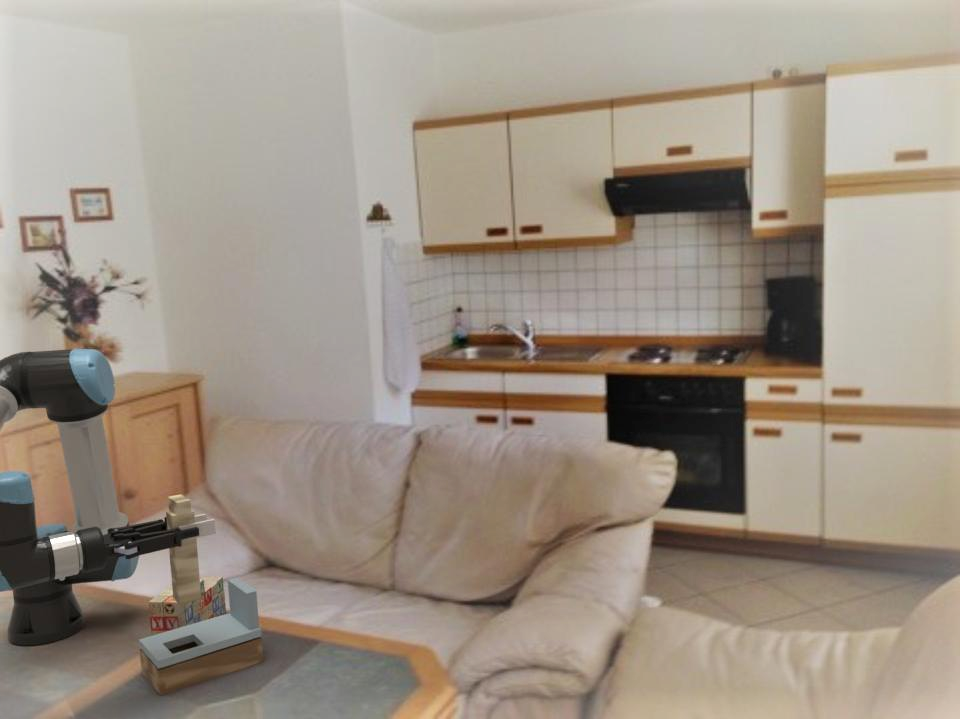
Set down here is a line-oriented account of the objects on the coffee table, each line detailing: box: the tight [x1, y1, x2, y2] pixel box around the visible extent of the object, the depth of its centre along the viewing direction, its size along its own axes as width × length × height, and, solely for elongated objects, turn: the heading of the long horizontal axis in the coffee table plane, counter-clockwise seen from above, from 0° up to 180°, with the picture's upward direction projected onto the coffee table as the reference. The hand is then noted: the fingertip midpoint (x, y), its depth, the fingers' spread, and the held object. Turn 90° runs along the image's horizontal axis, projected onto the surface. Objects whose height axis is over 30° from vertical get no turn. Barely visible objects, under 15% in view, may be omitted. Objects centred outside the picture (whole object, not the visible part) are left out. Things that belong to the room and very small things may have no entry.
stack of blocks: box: [148, 576, 227, 636], centre depth 182 cm, size 21×6×12 cm, turn 172°
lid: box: [138, 577, 263, 669], centre depth 165 cm, size 12×20×9 cm, turn 128°
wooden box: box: [139, 636, 264, 697], centre depth 166 cm, size 12×20×6 cm, turn 128°
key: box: [165, 494, 201, 605], centre depth 159 cm, size 6×4×20 cm
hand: (210, 523), depth 161 cm, fingers closed on key, 4 cm apart
